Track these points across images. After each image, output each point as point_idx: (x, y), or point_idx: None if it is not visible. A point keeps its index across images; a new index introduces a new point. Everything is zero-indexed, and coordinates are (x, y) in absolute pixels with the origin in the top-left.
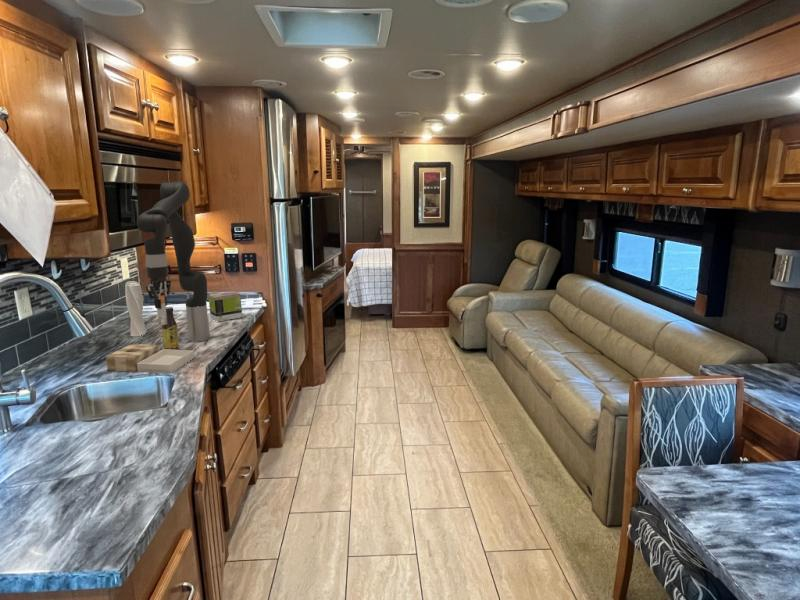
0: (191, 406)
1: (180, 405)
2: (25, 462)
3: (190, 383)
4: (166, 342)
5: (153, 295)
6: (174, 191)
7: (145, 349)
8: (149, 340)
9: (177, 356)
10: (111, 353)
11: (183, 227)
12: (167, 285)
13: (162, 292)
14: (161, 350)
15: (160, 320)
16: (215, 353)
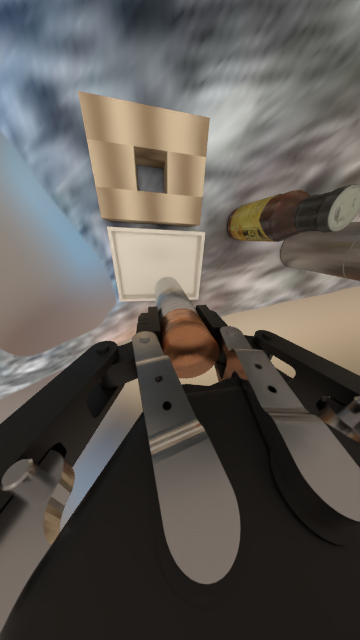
0: (36, 377)
1: (31, 367)
2: None
3: (97, 342)
4: (238, 220)
5: (133, 358)
6: None
7: (164, 210)
8: (331, 96)
9: (191, 267)
10: (108, 97)
11: None
12: (315, 411)
13: (262, 340)
14: (196, 232)
15: (155, 296)
16: None
